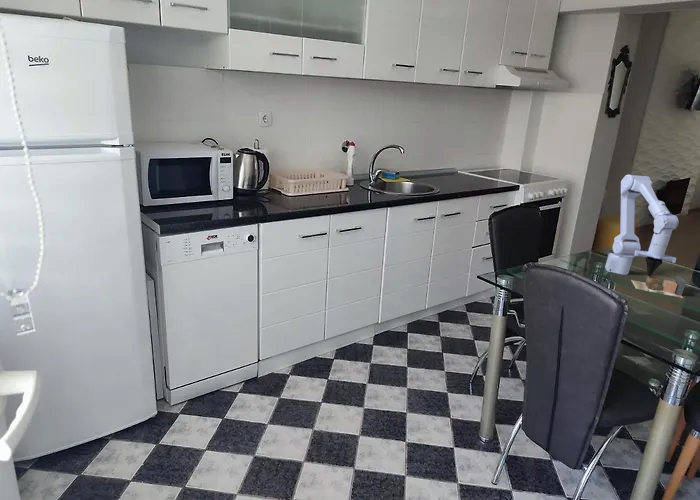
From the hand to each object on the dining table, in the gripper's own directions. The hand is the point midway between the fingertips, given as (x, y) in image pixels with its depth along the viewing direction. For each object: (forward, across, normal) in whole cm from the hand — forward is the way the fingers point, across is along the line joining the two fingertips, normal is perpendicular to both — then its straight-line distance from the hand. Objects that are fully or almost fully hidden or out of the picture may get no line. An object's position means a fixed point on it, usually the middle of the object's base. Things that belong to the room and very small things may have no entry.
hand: (648, 275), depth 201 cm
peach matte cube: (+5, +8, 0) cm, 10 cm away
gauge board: (+6, +4, 0) cm, 7 cm away
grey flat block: (+6, +12, 0) cm, 13 cm away
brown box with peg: (+5, +2, 0) cm, 5 cm away
